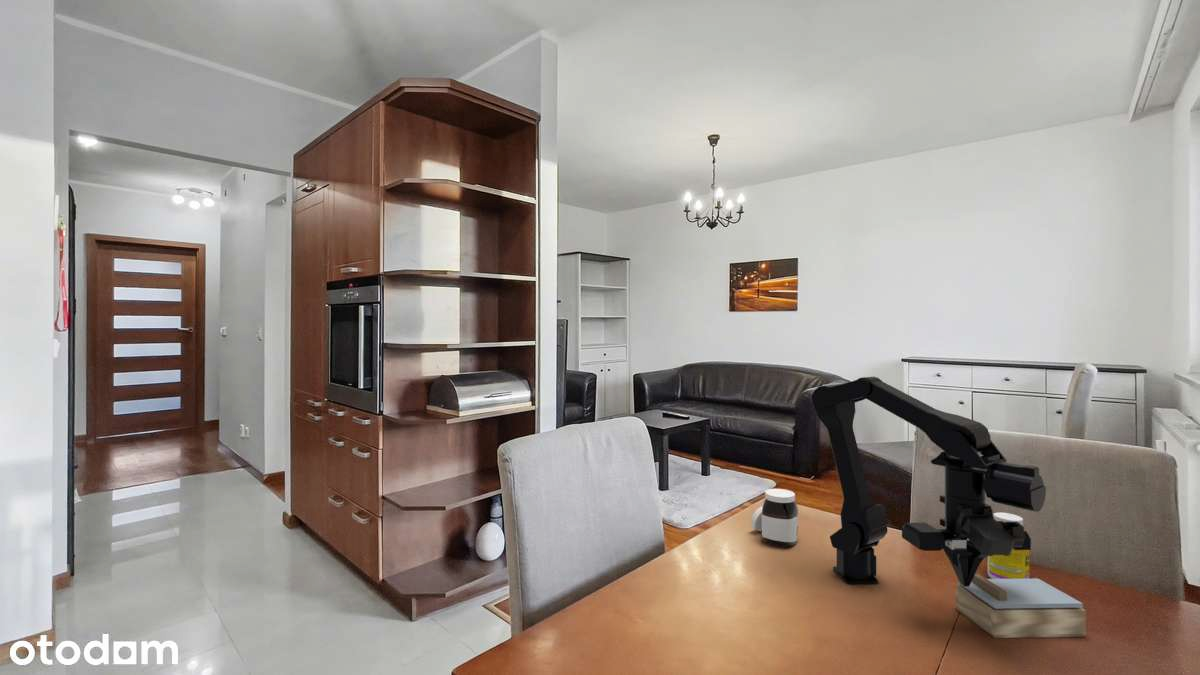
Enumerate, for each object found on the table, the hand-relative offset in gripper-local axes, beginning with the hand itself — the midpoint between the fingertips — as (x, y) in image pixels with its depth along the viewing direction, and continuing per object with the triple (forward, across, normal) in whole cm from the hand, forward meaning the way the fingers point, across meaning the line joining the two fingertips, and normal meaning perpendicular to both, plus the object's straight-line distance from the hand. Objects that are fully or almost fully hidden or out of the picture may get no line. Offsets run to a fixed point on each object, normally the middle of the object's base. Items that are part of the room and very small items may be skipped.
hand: (964, 585), depth 89 cm
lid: (+2, +9, 0) cm, 9 cm away
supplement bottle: (+7, +19, +15) cm, 25 cm away
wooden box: (+6, +9, 0) cm, 11 cm away
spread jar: (+7, -20, +37) cm, 43 cm away
